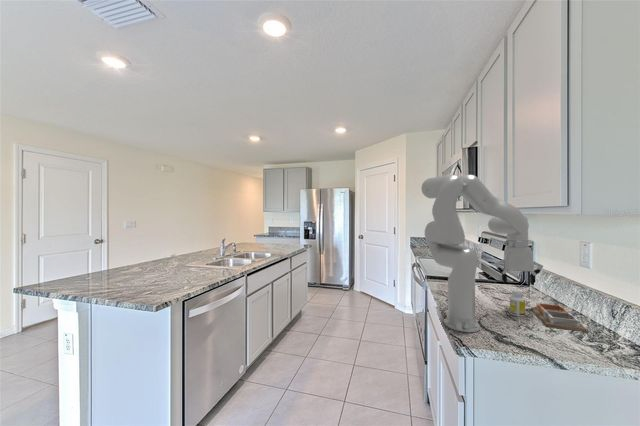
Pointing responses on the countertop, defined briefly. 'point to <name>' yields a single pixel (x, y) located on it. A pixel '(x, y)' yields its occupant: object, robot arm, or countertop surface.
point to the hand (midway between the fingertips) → (518, 283)
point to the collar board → (557, 317)
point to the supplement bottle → (517, 304)
